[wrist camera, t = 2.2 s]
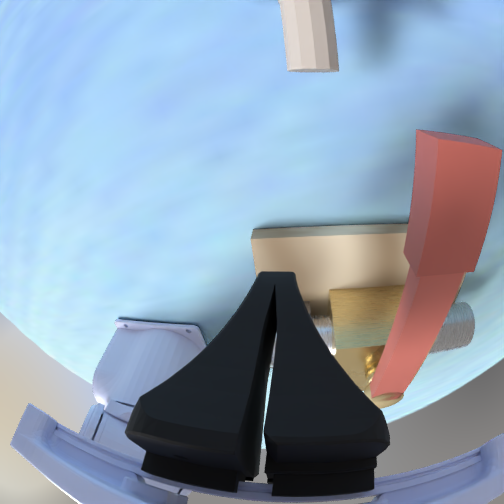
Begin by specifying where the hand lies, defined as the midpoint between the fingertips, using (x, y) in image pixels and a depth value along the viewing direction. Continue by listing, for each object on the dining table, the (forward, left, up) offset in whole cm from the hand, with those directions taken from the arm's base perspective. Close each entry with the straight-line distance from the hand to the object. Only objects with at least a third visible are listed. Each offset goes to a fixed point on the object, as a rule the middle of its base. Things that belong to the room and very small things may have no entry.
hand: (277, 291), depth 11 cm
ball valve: (+6, -8, -7) cm, 12 cm away
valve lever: (+6, -1, 0) cm, 6 cm away
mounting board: (+6, -8, -7) cm, 12 cm away
